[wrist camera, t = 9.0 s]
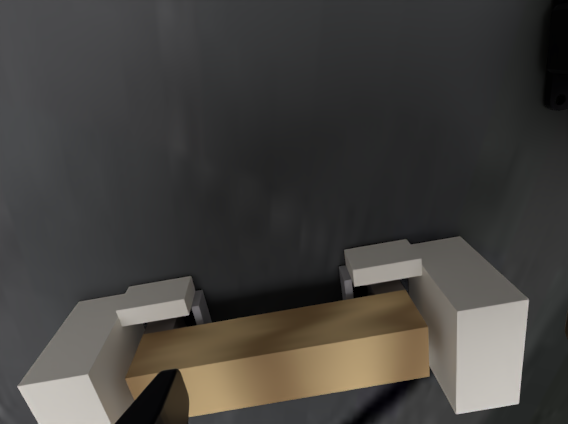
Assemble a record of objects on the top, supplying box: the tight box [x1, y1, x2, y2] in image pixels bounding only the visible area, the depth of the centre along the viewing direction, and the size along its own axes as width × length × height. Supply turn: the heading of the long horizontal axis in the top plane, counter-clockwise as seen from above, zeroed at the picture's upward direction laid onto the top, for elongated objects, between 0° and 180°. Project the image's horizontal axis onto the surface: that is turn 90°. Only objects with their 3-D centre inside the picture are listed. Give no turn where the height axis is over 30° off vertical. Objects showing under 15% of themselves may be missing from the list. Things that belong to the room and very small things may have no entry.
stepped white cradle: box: [17, 236, 529, 424], centre depth 20 cm, size 22×7×6 cm, turn 99°
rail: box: [125, 279, 429, 417], centre depth 21 cm, size 14×3×5 cm, turn 99°
